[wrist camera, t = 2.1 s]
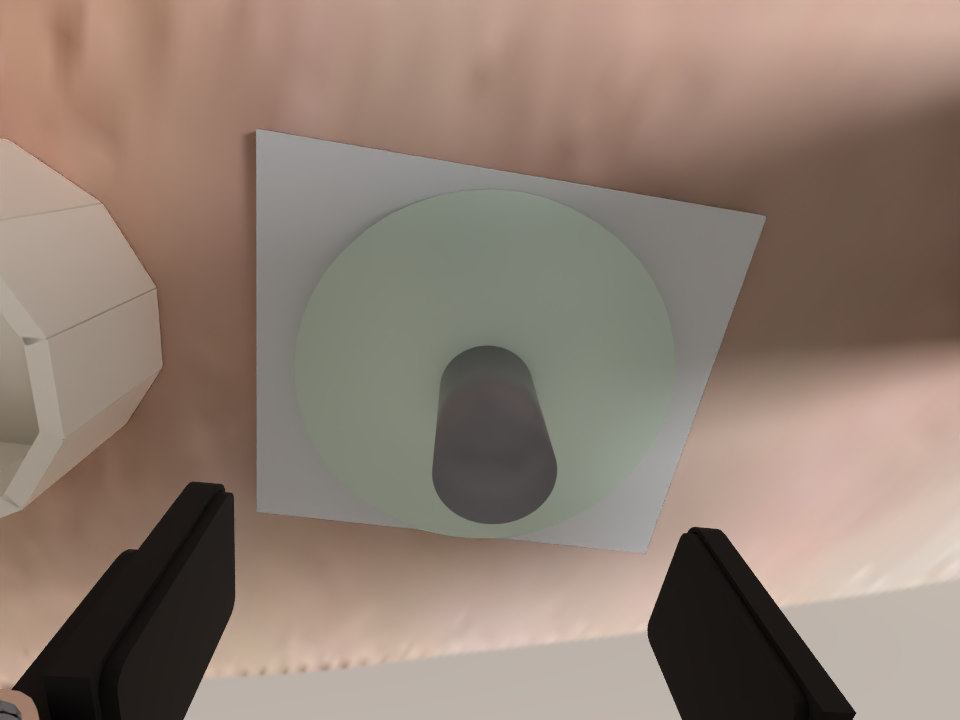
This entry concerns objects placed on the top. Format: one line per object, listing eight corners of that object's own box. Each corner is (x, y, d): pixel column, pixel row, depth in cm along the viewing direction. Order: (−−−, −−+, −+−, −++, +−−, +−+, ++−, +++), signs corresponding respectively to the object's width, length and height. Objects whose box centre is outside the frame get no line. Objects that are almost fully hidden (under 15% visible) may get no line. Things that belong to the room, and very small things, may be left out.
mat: (757, 214, 17) (767, 216, 17) (640, 543, 22) (645, 554, 22) (263, 129, 16) (255, 128, 15) (262, 502, 21) (256, 512, 20)
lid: (717, 224, 17) (836, 262, 11) (613, 540, 22) (663, 670, 16) (307, 155, 16) (227, 161, 10) (295, 505, 20) (236, 633, 15)
